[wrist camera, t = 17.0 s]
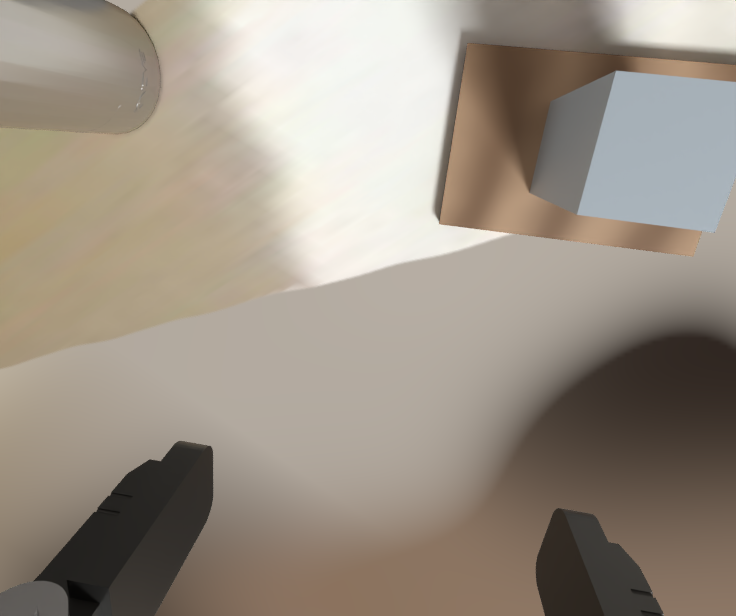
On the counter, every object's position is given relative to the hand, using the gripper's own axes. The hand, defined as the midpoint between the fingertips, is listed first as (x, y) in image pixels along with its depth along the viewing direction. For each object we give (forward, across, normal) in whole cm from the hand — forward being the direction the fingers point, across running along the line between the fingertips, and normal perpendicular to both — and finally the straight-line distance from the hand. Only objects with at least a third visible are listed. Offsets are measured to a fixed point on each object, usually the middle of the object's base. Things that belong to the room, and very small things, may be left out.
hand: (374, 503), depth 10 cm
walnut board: (+27, -11, -8) cm, 30 cm away
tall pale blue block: (+26, -11, -8) cm, 29 cm away
